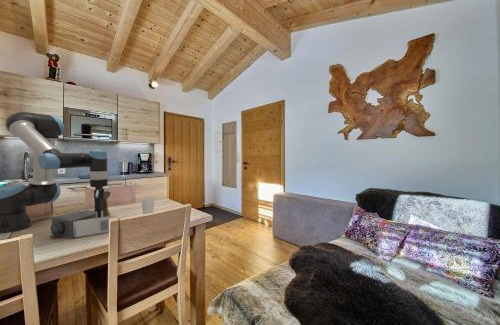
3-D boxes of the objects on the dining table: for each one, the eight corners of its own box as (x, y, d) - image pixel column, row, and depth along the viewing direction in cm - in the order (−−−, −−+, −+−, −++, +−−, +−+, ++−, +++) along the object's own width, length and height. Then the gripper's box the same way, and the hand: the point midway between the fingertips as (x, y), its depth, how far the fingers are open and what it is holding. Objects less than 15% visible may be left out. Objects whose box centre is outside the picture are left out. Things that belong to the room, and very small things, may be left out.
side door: (73, 237, 102) (73, 221, 102) (108, 230, 111) (108, 216, 110) (73, 238, 101) (72, 222, 100) (109, 232, 109) (108, 217, 109)
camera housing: (46, 237, 103) (45, 218, 102) (84, 224, 121) (83, 208, 120) (66, 240, 99) (66, 220, 99) (103, 227, 117) (102, 210, 117)
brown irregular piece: (99, 220, 128) (98, 192, 127) (90, 216, 135) (89, 189, 134) (114, 216, 135) (114, 190, 134) (105, 213, 143) (105, 187, 142)
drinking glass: (146, 223, 124) (145, 199, 123) (139, 221, 128) (139, 197, 127) (156, 220, 130) (156, 197, 129) (150, 218, 133) (149, 195, 133)
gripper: (93, 177, 112) (94, 219, 114) (86, 181, 101) (88, 227, 102) (109, 177, 116) (110, 217, 117) (105, 180, 104) (106, 225, 105)
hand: (99, 222), depth 109 cm, fingers closed
